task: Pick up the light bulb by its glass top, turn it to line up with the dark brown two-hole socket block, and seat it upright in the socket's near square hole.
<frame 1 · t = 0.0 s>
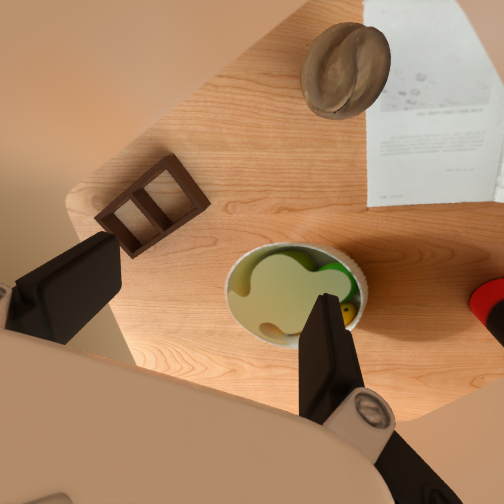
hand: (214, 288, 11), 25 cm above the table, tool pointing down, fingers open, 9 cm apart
light bulb: (324, 91, 28), on the table
socket block: (156, 207, 38), on the table
soda can: (497, 297, 37), on the table
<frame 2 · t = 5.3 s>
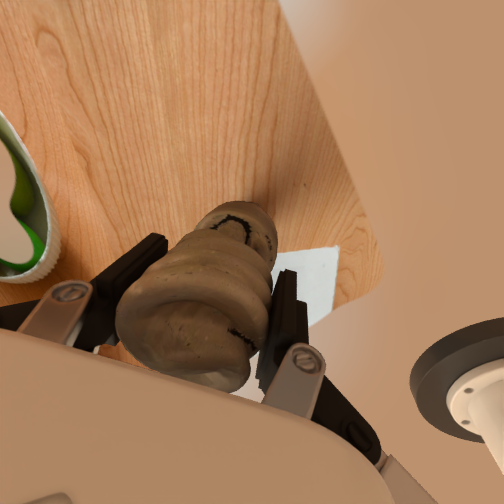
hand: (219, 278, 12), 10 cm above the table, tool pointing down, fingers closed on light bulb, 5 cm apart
light bulb: (251, 210, 21), on the table, touching gripper
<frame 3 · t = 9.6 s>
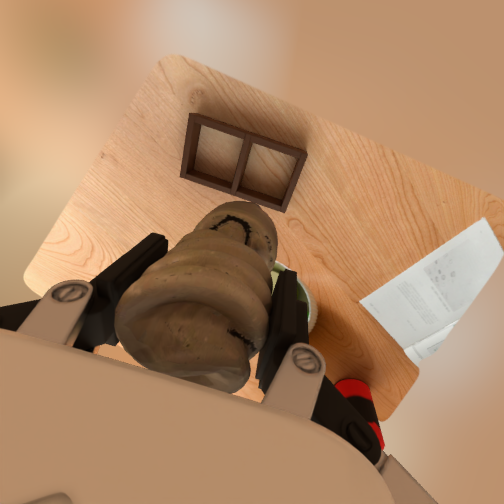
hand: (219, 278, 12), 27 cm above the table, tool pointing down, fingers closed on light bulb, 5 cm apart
light bulb: (251, 210, 21), point 17 cm above the table, touching gripper
socket block: (244, 162, 36), on the table
soda can: (350, 388, 55), on the table
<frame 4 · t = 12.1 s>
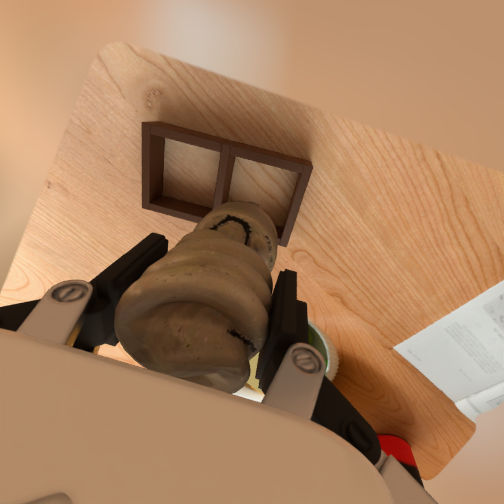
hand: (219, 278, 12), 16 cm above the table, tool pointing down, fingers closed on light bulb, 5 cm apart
light bulb: (251, 211, 21), point 6 cm above the table, touching gripper
socket block: (227, 182, 27), on the table
soda can: (385, 444, 44), on the table
when the fingers open (10 cm above the table, at t = 14.1 s): light bulb stays where it is, resting in socket block.
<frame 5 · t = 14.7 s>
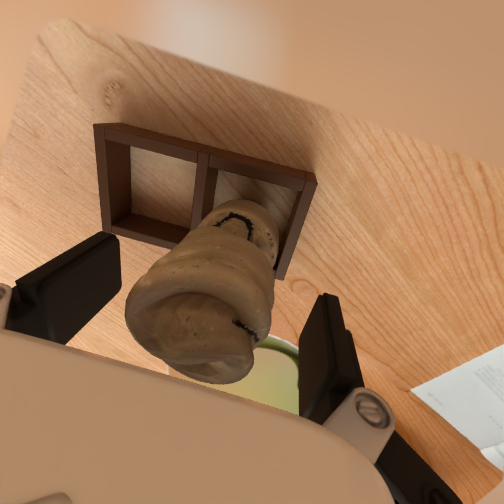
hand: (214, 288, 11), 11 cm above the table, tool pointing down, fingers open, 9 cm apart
light bulb: (252, 209, 21), resting in socket block
socket block: (209, 198, 21), on the table
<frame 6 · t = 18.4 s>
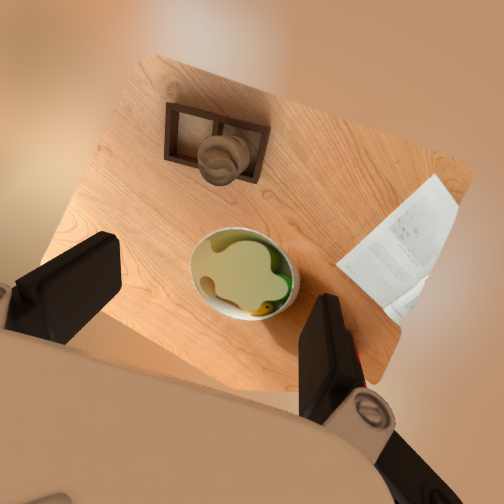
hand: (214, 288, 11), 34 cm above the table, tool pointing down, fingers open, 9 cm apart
light bulb: (241, 149, 41), resting in socket block
socket block: (218, 143, 41), on the table
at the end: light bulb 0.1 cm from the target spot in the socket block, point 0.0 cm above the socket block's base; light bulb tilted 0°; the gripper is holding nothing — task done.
